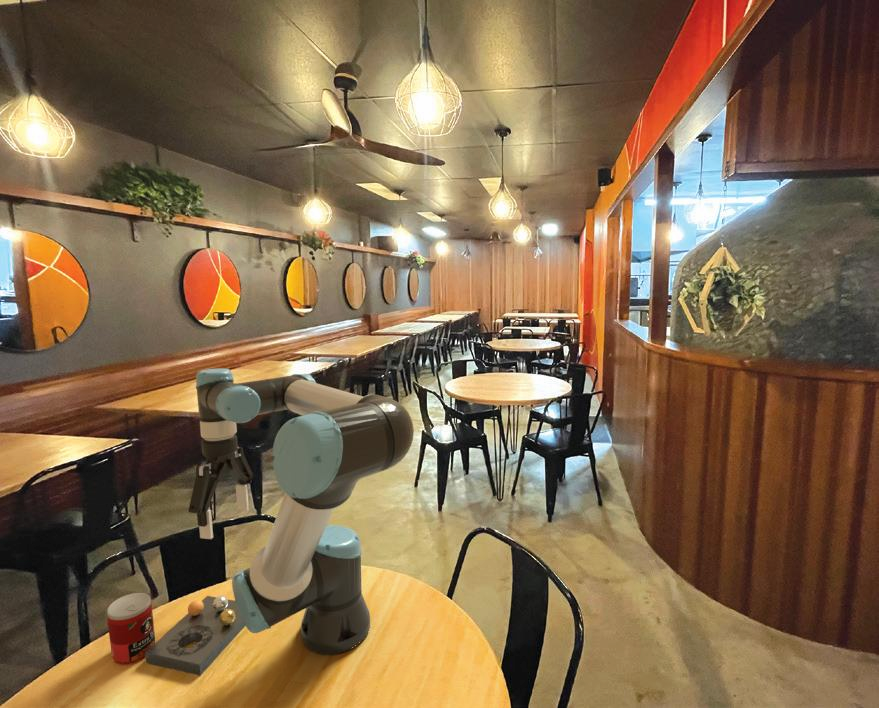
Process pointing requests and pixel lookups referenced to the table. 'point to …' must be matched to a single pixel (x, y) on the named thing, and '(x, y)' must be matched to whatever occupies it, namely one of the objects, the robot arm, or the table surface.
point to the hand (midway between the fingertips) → (226, 523)
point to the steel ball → (220, 603)
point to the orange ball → (195, 607)
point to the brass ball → (227, 617)
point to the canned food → (130, 628)
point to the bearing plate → (195, 640)
